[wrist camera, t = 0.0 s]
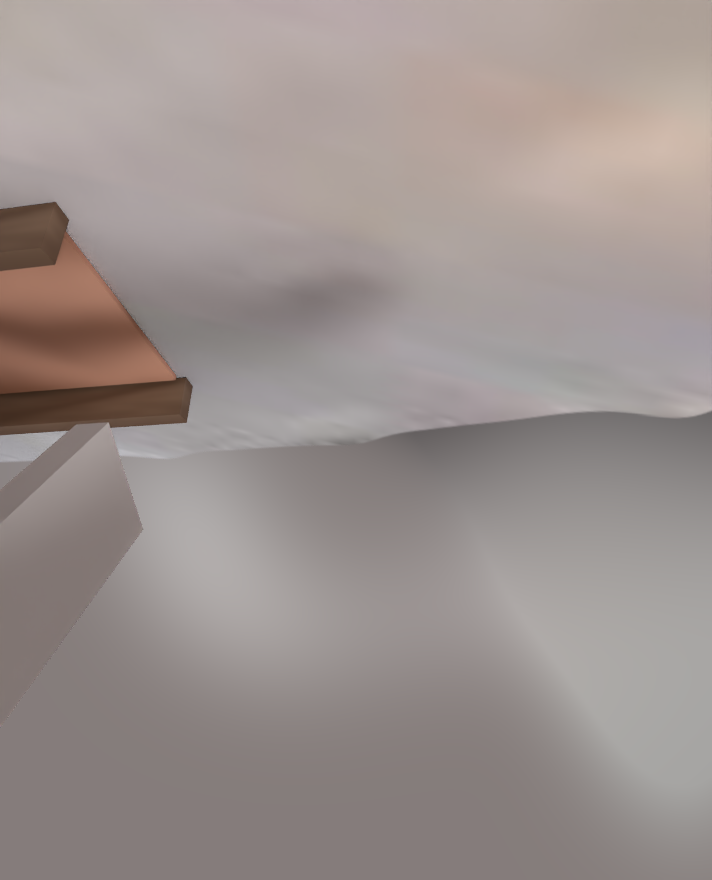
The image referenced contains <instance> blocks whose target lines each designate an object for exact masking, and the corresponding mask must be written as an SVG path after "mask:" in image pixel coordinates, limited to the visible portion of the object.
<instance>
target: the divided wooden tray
mask: <svg viewBox="0 0 712 880" xmlns="http://www.w3.org/2000/svg"><path fill="white" fill-rule="evenodd" d="M68 221H69V220H68V218H67V217H66V216H65V214H64V213H63V211H62V210H61V209H60V207H59V206H58V205H57V203H56V202H53V203H45V204H38V205H30V206H23V207H15V208H7V209H0V435H10V434H25V433H39V432H54V431H69V430H70V429H71V428H73V427H74V426H75V425H76V424H91V423H106V422H109V425H110V428H114V427H129V426H144V425H159V424H174V423H187V417H188V411H189V405H190V399H191V393H192V387H193V386H192V385H191V384H190V382H189V381H188V380H187V378H176V375H175V374H174V372H173V371H172V370H171V368H170V367H169V366H168V364H167V363H166V362H165V360H164V359H163V358H162V357H161V355H160V354H159V353H158V351H157V350H156V349H155V347H154V346H153V345H152V343H151V342H150V341H149V340H148V338H147V337H146V336H145V334H144V333H143V332H142V330H141V329H140V328H139V326H138V325H137V324H136V322H135V321H134V320H133V319H132V317H131V316H130V315H129V313H128V312H127V311H126V309H125V308H124V307H123V305H122V304H121V303H120V302H119V300H118V299H117V298H116V296H115V295H114V294H113V292H112V291H111V290H110V288H109V287H108V286H107V285H106V283H105V282H104V281H103V279H102V278H101V277H100V275H99V274H98V273H97V271H96V270H95V269H94V268H93V266H92V265H91V264H90V262H89V261H88V260H87V258H86V257H85V256H84V254H83V253H82V252H81V250H80V249H79V248H78V247H77V245H76V244H75V243H74V241H73V240H72V239H71V237H70V236H69V235H68V233H67V232H66V228H67V225H68Z"/></svg>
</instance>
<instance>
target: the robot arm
mask: <svg viewBox="0 0 712 880" xmlns="http://www.w3.org/2000/svg"><path fill="white" fill-rule="evenodd" d="M142 530H143V528H142V524H141V521H140V518H139V515H138V512H137V509H136V506H135V503H134V500H133V496H132V493H131V490H130V487H129V484H128V481H127V478H126V475H125V472H124V469H123V465H122V462H121V459H120V456H119V453H118V450H117V447H116V444H115V440H114V437H113V434H112V431H111V428H110V425H109V422H106V423H91V424H76V425H75V426H74V427H73V428H71V429H70V430H69V431H68V432H67V433H66V434H64V435H63V436H62V437H61V438H60V439H59V440H58V441H56V442H55V443H54V444H53V445H52V446H51V447H49V448H48V449H47V450H46V451H45V452H44V453H42V454H41V455H40V456H39V457H38V458H37V459H35V460H34V461H33V462H32V463H31V464H30V465H28V466H27V467H26V468H25V469H24V470H23V471H22V472H20V473H19V474H18V475H17V476H16V477H14V478H13V479H12V480H11V481H10V482H9V483H8V484H6V485H5V486H4V487H3V488H2V489H1V490H0V727H1V726H2V725H3V723H4V722H5V720H6V719H7V718H8V716H9V715H10V713H11V712H12V711H13V709H14V708H15V706H16V705H17V704H18V702H19V701H20V699H21V698H22V697H23V695H24V694H25V693H26V691H27V690H28V688H29V687H30V686H31V684H32V683H33V681H34V680H35V679H36V677H37V676H38V675H39V673H40V672H41V670H42V669H43V668H44V666H45V665H46V663H47V662H48V661H49V659H50V658H51V657H52V655H53V654H54V652H55V651H56V650H57V648H58V647H59V645H60V644H61V643H62V641H63V640H64V638H65V637H66V636H67V634H68V633H69V631H70V630H71V629H72V627H73V626H74V625H75V623H76V622H77V620H78V619H79V618H80V616H81V615H82V614H83V612H84V611H85V609H86V608H87V606H88V605H89V604H90V602H91V601H92V600H93V598H94V597H95V595H96V594H97V593H98V591H99V590H100V589H101V587H102V586H103V584H104V583H105V582H106V580H107V579H108V577H109V576H110V575H111V573H112V572H113V571H114V569H115V568H116V566H117V565H118V564H119V562H120V561H121V559H122V558H123V557H124V555H125V554H126V552H127V551H128V549H129V548H130V547H131V545H132V544H133V543H134V541H135V540H136V539H137V537H138V536H139V534H140V533H141V532H142Z"/></svg>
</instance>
